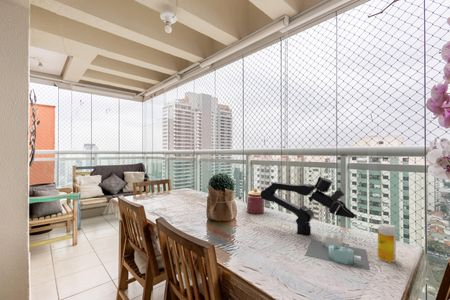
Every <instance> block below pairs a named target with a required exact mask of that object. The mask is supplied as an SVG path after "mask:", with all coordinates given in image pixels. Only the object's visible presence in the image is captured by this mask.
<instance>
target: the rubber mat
mask: <svg viewBox="0 0 450 300" xmlns="http://www.w3.org/2000/svg"><path fill="white" fill-rule="evenodd" d="M343 247H346V248H350V249H352V250H354V255H356V256H361V261H359V260H354V264H353V265H348V264H344V263H339V262H335V261H332V260H330V259H329V247H324V246H322V240H318V239H310V241H309V244H308V246H307V249H306V252H305V255H304V256H305V257H308V258H309V257H310V258H314V259H319V260H322V261H327V262H331V263H336V264H340V265H344V266H349V267H354V268H357V269H362V270H366V271H371V268H370V264H369V258H368V253H367V249H364V248H361V247H355V246H351V245H349V246H346V245H343Z"/></svg>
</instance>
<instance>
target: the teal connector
mask: <svg viewBox="0 0 450 300" xmlns="http://www.w3.org/2000/svg"><path fill="white" fill-rule="evenodd" d="M329 259H330V260H332V261H335V262H339V263H344V264H348V265H353V264H354V260H359V261H361V256H356V255H354V250H352V249H350V248H346V247H341V246H336V245H329ZM335 262H334V263H335ZM339 263H338V264H339ZM344 264H343V265H344ZM348 265H347V266H348Z"/></svg>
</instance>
